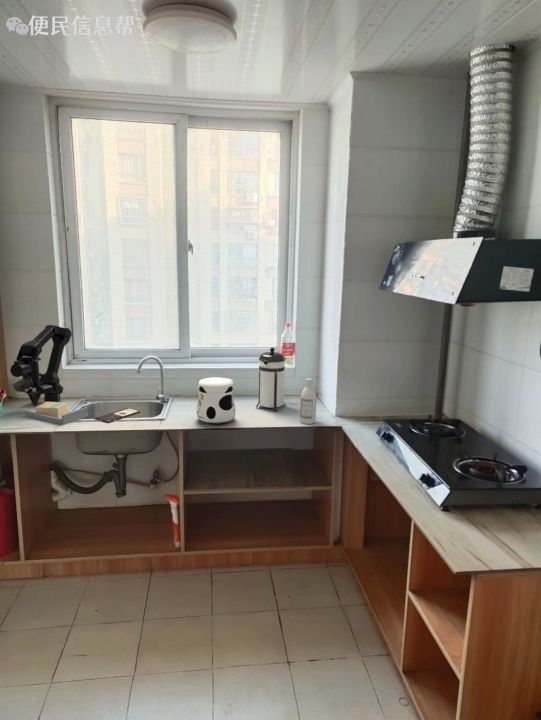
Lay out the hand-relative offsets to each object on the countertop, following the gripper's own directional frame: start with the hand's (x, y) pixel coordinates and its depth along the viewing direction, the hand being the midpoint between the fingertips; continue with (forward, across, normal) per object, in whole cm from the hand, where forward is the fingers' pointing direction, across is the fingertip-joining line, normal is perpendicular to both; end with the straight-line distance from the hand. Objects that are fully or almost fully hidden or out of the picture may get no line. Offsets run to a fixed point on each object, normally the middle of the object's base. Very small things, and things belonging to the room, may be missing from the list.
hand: (34, 405), depth 210 cm
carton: (+2, +11, 0) cm, 11 cm away
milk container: (+4, +76, +32) cm, 83 cm away
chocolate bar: (+5, +34, +16) cm, 38 cm away
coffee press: (+4, +89, +63) cm, 109 cm away
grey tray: (+4, +14, -1) cm, 15 cm away
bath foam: (+4, +113, +50) cm, 124 cm away
